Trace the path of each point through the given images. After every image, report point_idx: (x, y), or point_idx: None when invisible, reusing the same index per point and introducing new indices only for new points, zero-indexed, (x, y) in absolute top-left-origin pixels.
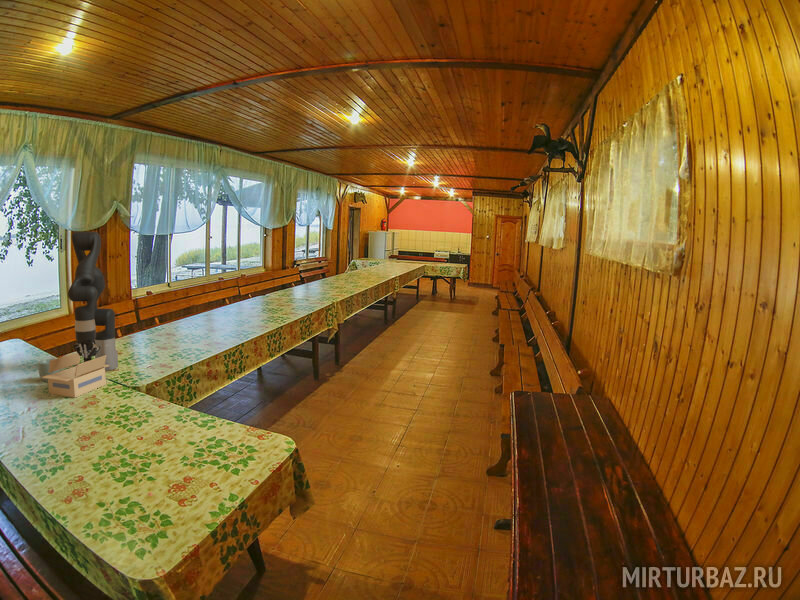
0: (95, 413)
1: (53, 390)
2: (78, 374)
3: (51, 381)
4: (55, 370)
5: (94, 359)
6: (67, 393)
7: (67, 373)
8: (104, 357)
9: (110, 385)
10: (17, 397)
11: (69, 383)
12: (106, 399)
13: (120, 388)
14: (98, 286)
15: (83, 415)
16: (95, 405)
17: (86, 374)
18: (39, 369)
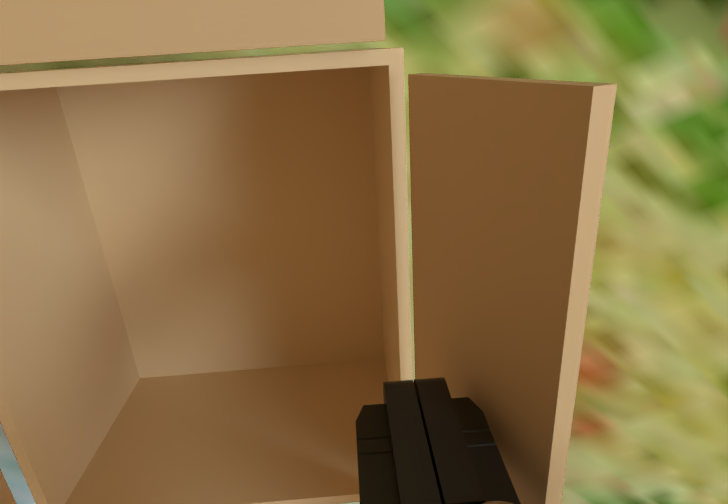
0: (721, 458)
1: (170, 401)
2: None
3: (126, 470)
4: (3, 489)
5: (565, 442)
6: (318, 383)
7: (12, 295)
8: (572, 148)
9: (418, 25)
10: (16, 484)
11: (350, 454)
12: (638, 292)
13: (581, 54)
14: None
15: (670, 495)
16: (636, 388)
17: (407, 357)
18: None
